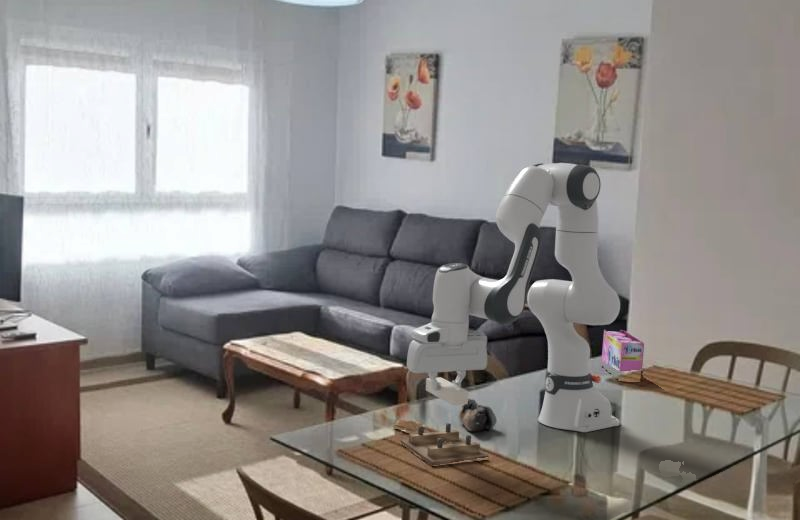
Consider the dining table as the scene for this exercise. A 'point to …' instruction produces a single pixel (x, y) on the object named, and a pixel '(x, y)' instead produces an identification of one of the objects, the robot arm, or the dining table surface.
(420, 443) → the walnut rack
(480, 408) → the bison figurine
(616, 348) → the gum box
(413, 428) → the shard
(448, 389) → the clay strip
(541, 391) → the dining table surface
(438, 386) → the robot arm
